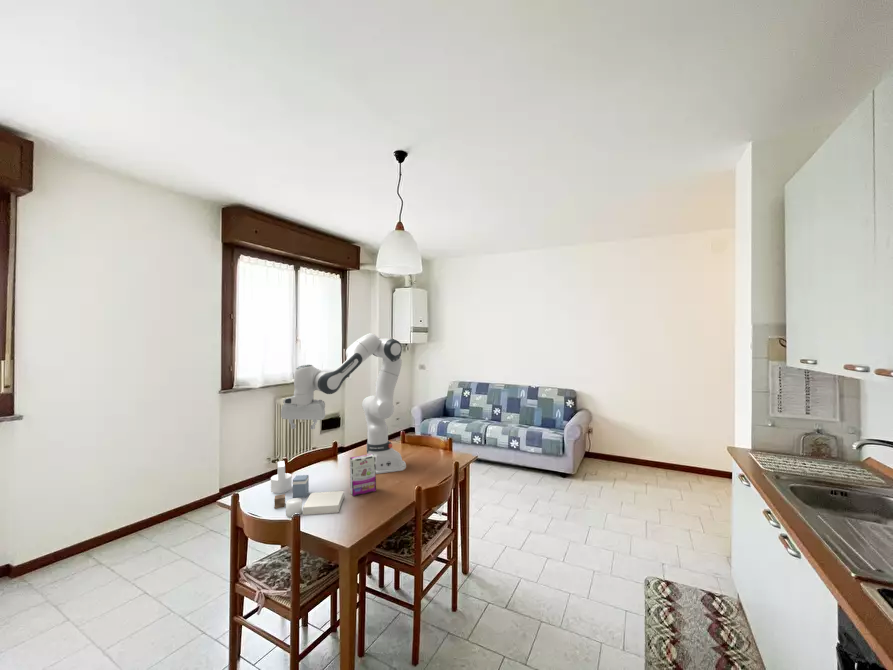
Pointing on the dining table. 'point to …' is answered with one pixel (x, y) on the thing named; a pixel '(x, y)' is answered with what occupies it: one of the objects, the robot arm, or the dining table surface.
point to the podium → (323, 503)
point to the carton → (300, 486)
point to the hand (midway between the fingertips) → (302, 428)
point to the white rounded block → (293, 506)
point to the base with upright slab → (281, 480)
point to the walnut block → (279, 501)
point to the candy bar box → (362, 474)
